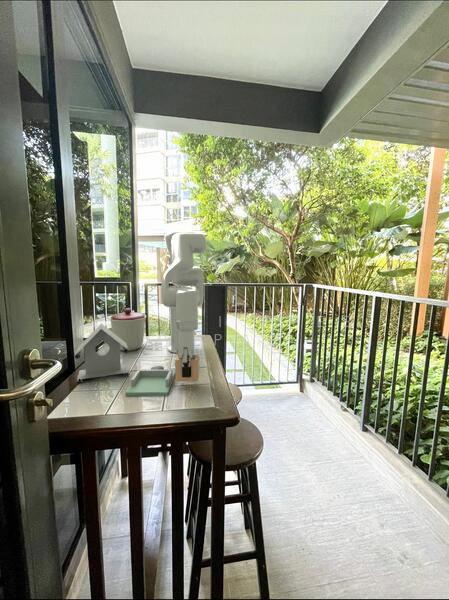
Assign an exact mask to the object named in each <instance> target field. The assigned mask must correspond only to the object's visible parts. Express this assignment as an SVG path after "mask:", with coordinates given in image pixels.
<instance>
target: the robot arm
mask: <svg viewBox="0 0 449 600" xmlns="http://www.w3.org/2000/svg"><path fill="white" fill-rule="evenodd" d="M164 243H165V246H166V249H167V251H168V254H169V257H170V266H169V267H168V268H167V269H166V271H164V273H163V276H162V278H161V283H160V284H161V287H160V288H161V289H160V290H161V291H160V292H161V302H162V304H163V306H164V307H167V308H169V311H170V313H169V314H170V345H169V346H168V347H167V351H168V352H169V353H173V354H177V353H176V352H177V349H178V358H179V359H180V358H182V377H191V366H190V361H191V358H192V356H193V355H194V349H195V331H197V330H198V329H199V326H198V325H199V324H198V323H199V319H198V318H199V311H198V310H199V307H201V306H202V305H203V303H204V296H205V295H204V289H205V288H204V287H205V285H204V284H205V283H204V278H205V277H204V271H203V269H202V268H201V267H200V266H194V265H195V263H194V261H195V260H194V254H204V253H205V252H206V250H207V245H208V243H207V239H206V235H205V234H204V233H203V232H202V231H199V230H177V229H176V230H168V231H166V232H165V234H164ZM170 282H171V283H172V285H174V286H170V285H169V284H170ZM188 356H189V358H187V357H188ZM187 360H189V362H188V361H187Z"/></svg>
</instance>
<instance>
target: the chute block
mask: <svg viewBox="0 0 449 600" xmlns="http://www.w3.org/2000/svg"><path fill="white" fill-rule="evenodd" d="M187 358H189V356H188V357H187ZM187 361H188V362H189V360H187ZM190 366H191V377H182V358H180V359H179V358H178V355H177V354H176V356H175V360H174V367H175V368H174V369H175V377H174V379H175V382H176V383H179V382H183V383H184V382H189V383H190V382H199V379H200V378H199V377H200V355H199V354H193V356H192V358H191V361H190Z"/></svg>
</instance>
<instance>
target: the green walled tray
mask: <svg viewBox="0 0 449 600" xmlns="http://www.w3.org/2000/svg"><path fill="white" fill-rule="evenodd" d="M174 379H175V368H171V369H170V368H164V366H161V365H155V366H152V367H151V368H150V369H149V368H148V369H147V368H145V369H144V368H143V369H138V370H136V372H135V373H134V374H133V376H132V377H131V378H130V385H129V387H128V388H127V390H126V391H125V396H126V397H132V396H133V397H143V396H144V397H147V396H149V397H150V396H151V397H152V396H153V397H154V396H155V397H157V396H160V397H161V396H162V397H163V396H169V394H170V390H171V387H172V385H173V383H174V382H173V381H174Z"/></svg>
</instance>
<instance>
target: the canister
mask: <svg viewBox="0 0 449 600" xmlns="http://www.w3.org/2000/svg"><path fill="white" fill-rule="evenodd" d="M123 311H124V312H120V313H116V314H112V316H110V317H108V320H109V321H110V325H111V331H112V332H113V333H114V334H115V335H117V336H118V337H119V338H120V339H122V340H123V341H124V342H126V344H127V347H128V352H130V351H135V350H137V349H140V348H141V347H142V345H143V343H144V338H145V337H144V336H145V326H146V318H147V315H145V314H143V313H141V312H135V311H132V309H131V308H129V307H127V308H125V309H124V310H123ZM120 351H122V352H123V347H122V345H121V344H120Z"/></svg>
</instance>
